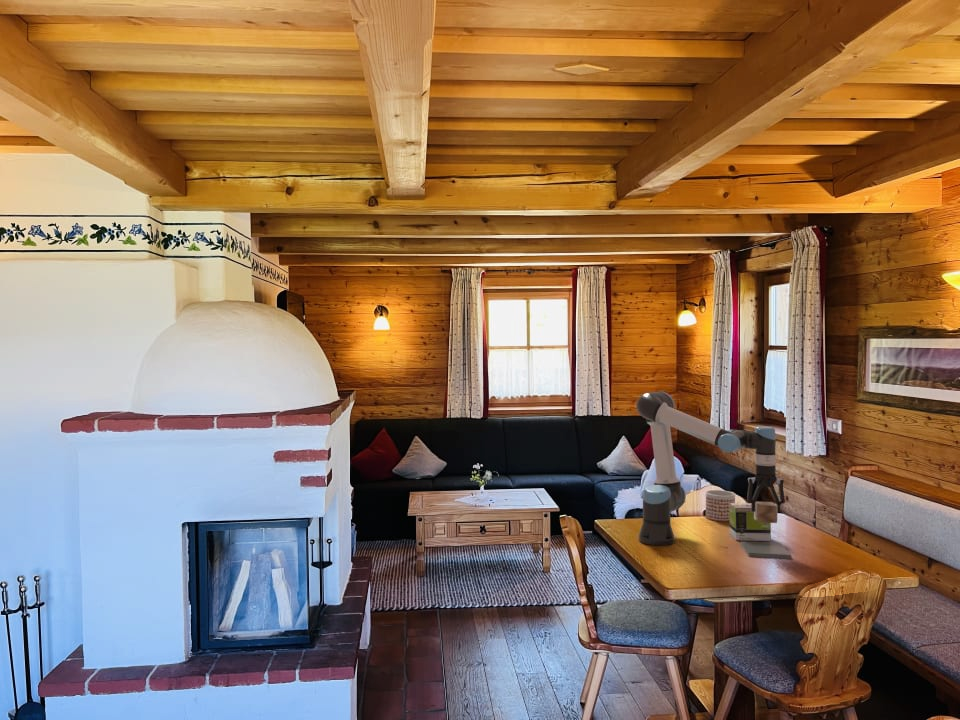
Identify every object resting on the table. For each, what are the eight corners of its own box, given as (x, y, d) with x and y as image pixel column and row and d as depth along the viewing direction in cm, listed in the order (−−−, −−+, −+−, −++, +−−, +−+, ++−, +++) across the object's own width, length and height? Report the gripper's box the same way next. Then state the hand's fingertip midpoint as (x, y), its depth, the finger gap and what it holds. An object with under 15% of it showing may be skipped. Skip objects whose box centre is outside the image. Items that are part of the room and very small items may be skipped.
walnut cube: (758, 522, 266) (758, 505, 266) (754, 518, 273) (754, 501, 273) (776, 523, 265) (776, 505, 265) (772, 518, 271) (772, 502, 271)
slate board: (748, 556, 263) (748, 552, 263) (740, 544, 278) (740, 541, 278) (791, 558, 260) (791, 555, 260) (780, 547, 275) (780, 543, 275)
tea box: (763, 535, 293) (763, 502, 293) (771, 541, 283) (771, 508, 283) (729, 534, 295) (729, 502, 295) (735, 540, 285) (735, 507, 285)
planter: (708, 521, 318) (708, 495, 318) (703, 514, 332) (703, 489, 331) (737, 522, 316) (737, 496, 316) (731, 515, 329) (731, 490, 329)
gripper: (741, 465, 267) (741, 521, 267) (794, 466, 263) (794, 523, 263) (738, 462, 274) (738, 516, 274) (789, 463, 270) (789, 518, 271)
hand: (765, 519), depth 269 cm, fingers closed on walnut cube, 7 cm apart
